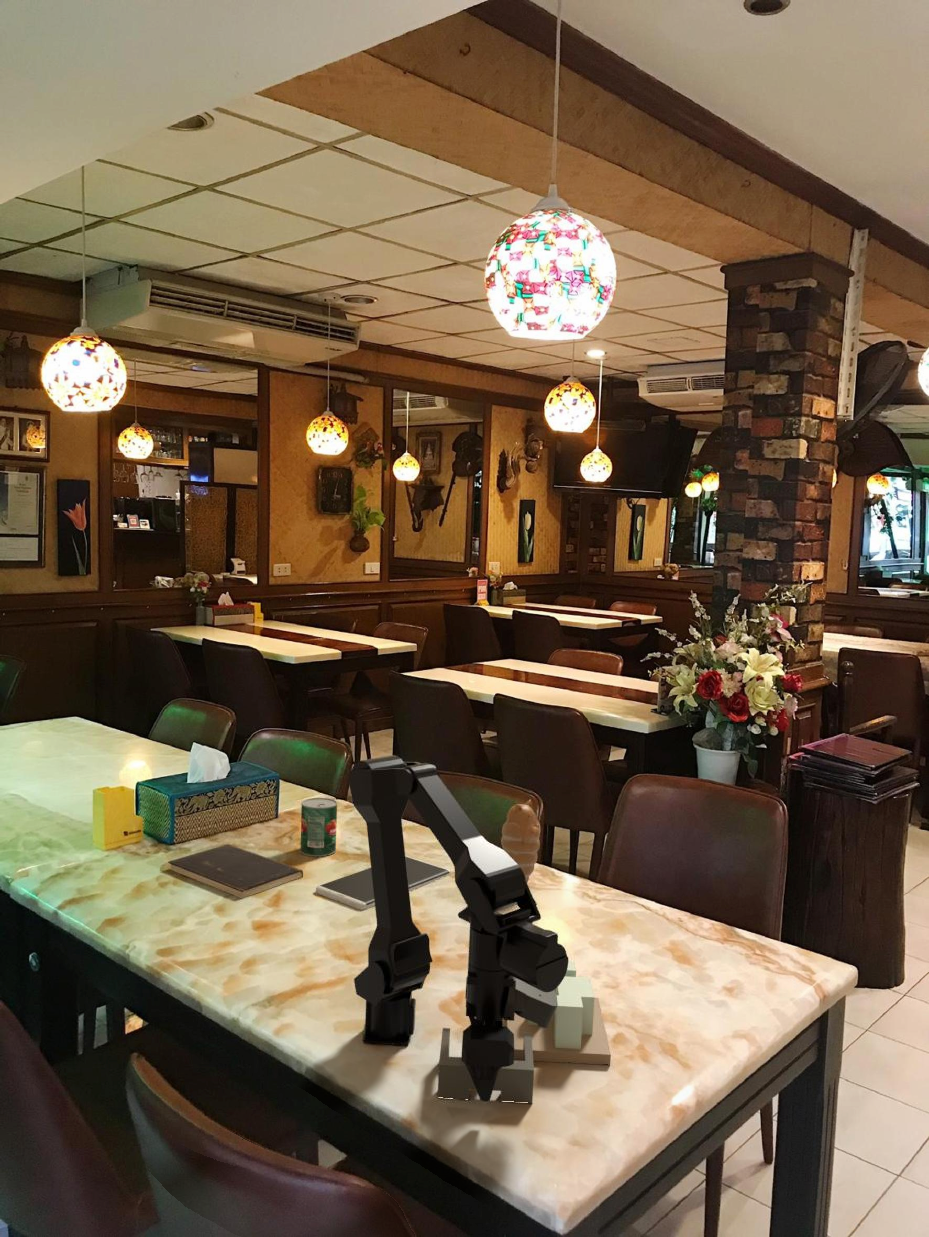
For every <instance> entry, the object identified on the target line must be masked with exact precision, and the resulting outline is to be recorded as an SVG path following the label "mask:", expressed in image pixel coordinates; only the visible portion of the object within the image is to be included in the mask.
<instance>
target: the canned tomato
mask: <svg viewBox="0 0 929 1237" xmlns="http://www.w3.org/2000/svg"><path fill="white" fill-rule="evenodd" d="M300 805H301V810H300V811H301V812H300V813H301V814H300V815H301V816H300V819H301V820H300V849H299V851H300V852H299V853H301V855H304V856H307V857H312V856H313V858H316V857H317V856H319V857H317V858H320V857H321V856H323V857H328V856H327V855H329V856H332V855H333V853H334V854H335V853H336V852H337V848H336V847H337V830H338V828H337V823H338V822H337V819H338V801H337V800H335V799H332V798H327V797H311V798H307V799H304V800H302V801H301V804H300ZM331 854H332V855H331ZM314 856H315V857H314Z"/></svg>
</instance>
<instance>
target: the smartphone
mask: <svg viewBox="0 0 929 1237" xmlns="http://www.w3.org/2000/svg"><path fill="white" fill-rule="evenodd" d="M405 857H406V867H407V876H408V885H409V891H410V892H412V891H415V890H417V889H420V888H422V887H424V885H425V886H427V885H429V883H430V884H431V882H432V883H434V882H436V881H435V880H437V881H439V880H441V879H440V878H442V877H444V878H446V877H445V876H447V875H449V876H451V870H450V869H448V868H444V867H442V866H439V865H435V864H432V863H429V862H426V861H423V860H420V859H418V858H413V857H410V856H408V855H405ZM447 877H448V876H447ZM438 879H439V880H438ZM442 879H443V878H442ZM419 887H420V888H419ZM416 888H417V889H416ZM414 889H415V890H414ZM411 890H412V891H411ZM315 893H316V894H318V895H320V896H323V897H325V898H329V899H331V900H333V901H336V902H338V901H339V903H342V904H344V905H347V906H349V907H352V908H354V909H358V910H360V911H365V910H367V909H371V908H373V907H375V900H374V890H373V881H372V871H371V867H368V868H366V869H363V870H360V871H357V872H355V873H352V874H349V875H345V876H344V877H340V878H337V879H334V880H331V881H328V882H326V883H323V884H320V885H317V886H316V887H315Z"/></svg>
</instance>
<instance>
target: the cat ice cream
mask: <svg viewBox="0 0 929 1237" xmlns="http://www.w3.org/2000/svg"><path fill="white" fill-rule="evenodd" d="M501 834H502V836H501V838H500V843H501V847H502V849H503V850H504V851H505V852H506V853H507V854H508V855H509V856H510V857H511V858H512V859H513V860H514V861H515V862H516V863H517V864H518V865H519V866H520V867H521V869H522V871H523V873H524V875H525V878H526V882H527V884H528V882H529V880H530V876H531V875H532V873H533V872H534V870H535V865H536V863H537V861H538V851H539V850H540V845H541V844H540V843H541V841H540V839H539V838H540V835H541V824H540V822H539V821H538V816H537V814H536V813H535V812H534V810H533V808H532V800H531V799H529V800H527V801H526V803H524V804H523V803H518V804H517V803H516V804H514V805H513V806H512V807H510V809H509V810H508V812H507V815H506V821H505V822H504V823H503V824H502V830H501Z"/></svg>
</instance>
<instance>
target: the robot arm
mask: <svg viewBox="0 0 929 1237" xmlns="http://www.w3.org/2000/svg"><path fill="white" fill-rule="evenodd" d="M348 786H349V789H350V794H351V799H352V803H353V804H352V805H353V807H354V808H355V809H356V810H357V812H358V813H359V815H360V816H361V817H362V819H363V820H364V822H365V825H366V831H367V840H368V850H369V860H370V868H371V871H372V881H373V890H374V900H375V906H374V909H375V917H376V918H375V919H376V928H375V930H374V932H373V935H372V937H371V940H370V942H369V945H368V947H367V949H368V951H367V952H368V953H367V955H368V956H367V958H368V959H367V962H368V964H367V967H365V968H364V969H363V970H362V971H361V972H360V973H359V974H358V975H356V976H355V977H354V978H353V983H354V988H355V994H356V995H357V996H358V997H360V998H362V999H363V1000H364V1001H365V1020H364V1021H365V1022H364V1023H365V1024H364V1031H363V1032H364V1033H363V1036H362V1043H365V1044H375V1045H377V1044H378V1045H393V1046H395V1045H396V1046H408V1045H409V1044H410V1039H411V1036H413V1034H414V1032H415V1026H416V1006H417V1004H416V1001H417V1000H416V999H415V997H413V992H414V991H417V990H420V989H423V987H424V984H425V982H426V981H425V980H426V978H427V977H428V975H429V974H430V971H431V963H433V958H432V955H431V950H430V948H431V946H430V937H429V935H428V934H427V932H426V933H422V932H421V931H420V930H419V928H418V926H416V924H415V923H414V921H413V915H412V906H411V897H410V892H409V885H408V876H407V867H406V857H405V856H406V849H405V840H404V839H405V838H404V829H403V816H404V813H405V810H406V809H407V805H408V804H409V802H410V803H411V804H412V805H413V807H414V808H415V810H416V811H417V814H419V816H421V818H422V820H423V821H424V823H425V825H426V826H427V827H428V828H429V830H430V831H431V832H432V834H433V835H434V837H435V839H436V841H437V842H438V843H439V844H440V846H441V847H442V848H443V850H444V851H445V853H446V854H447V856H448V857H449V859H450V860H451V863H452V864H453V866H454V883H455V885H456V887H457V888H458V891H459V892H460V895H461V896H462V898H463V900H464V902H465V904H466V907H464V908H463V909H462V910H461V911H459V912H458V913H457V918H459V919H460V920H463V921H465V922H467V923H469V937H468V941H469V942H468V959H467V960H468V961H467V962H468V963H467V975H466V980H465V981H466V982H465V1017H468V1019H469V1022H470V1023H469V1024H470V1025H469V1026H468V1027H466V1028H465V1029H464V1030H463V1031H462V1040H461V1056H460V1057H461V1061H462V1062H463V1063H464V1064H465V1065H466V1067H467V1069H468V1071H469V1073H470V1076H471V1078H472V1080H473V1083H474V1085H475V1088H476V1093H477V1095H478V1097H479V1099H480V1101H481V1102H490V1101H491V1097H492V1095H493V1088H494V1085H495V1081H496V1078H497V1075H498V1072H499V1069H500V1068H502V1067H507V1066H510V1065H512V1064H514V1034H513V1033H512V1032H511V1031H510V1030H509V1028H508V1027H507V1026H504V1024H503V1021H507V1020H510V1021H514V1015H515V1014H517V1015H518V1016H520V1017H522V1018H524V1019H527V1020H529V1021H532V1022H534V1023H537V1024H538V1026H540V1027H542V1028H548V1026H549V1024H550V1022H551V1019H552V1017H553V1015H554V1012H555V1010H556V1008H557V1006H558V1003H557V995H556V992H555V991H554V989H556V988H557V987H558V986H559V985H560V984H561V982H562V980H563V979H564V977H565V974H566V971H567V968H568V961H569V956H568V955H567V951H566V948H565V947H564V946H563V945H562V944H561V943H558V942H559V935H558V933H557V932H555V931H553V930H550V929H544V928H542V927H541V926H538V925H535V924H534V923H535V922H537V921H538V922H539V921H540V920H541V918H542V916H541V913H540V911H539V908H538V906H537V905H538V904H537V901H536V900H535V898H534V896H533V893H532V892H531V890H530V888H529V887H530V886H529V885H528V883H527V882H526V878H525V875H524V873H523V871H522V869H521V867H520V866H519V865H518V864H517V863H516V862H515V861H514V860H513V859H512V858H511V857H510V856H509V855H508V854H507V853H506V852H505V851H504V850H503V848H501V847H499V846H497V845H495V844H493V843H490V842H489V841H488V840H487V839H486V838H485V837H484V836H483V835H482V834H481V833H480V832H479V831H478V828H477V827H476V825H474V823H473V822H472V820H471V819H470V818H469V817H468V815H467V814H466V811H464V810H463V808H462V807H461V806H460V804H459V803H458V801H457V800H456V798H455V797H454V796H453V795H452V793H451V792H450V790H449V789H448V788H447V786H446V785H445V783H444V782H443V780H442V779H441V777H440V771H439V770H438V769H437V767H436V766H435V764H431V763H428V762H423V763H421V762H419V761H403V759H402V758H401V757H399V756H398V755H395V754H392V755H388V756H381V757H374V758H369V759H363V760H358V761H356V762H355V763H354V764H353V766H352V769H351V770H349V773H348ZM515 905H517V906H518V909H515V910H513V911H509V912H506V913H501V912H498V911H501V910H504V909H507V908H510V907H513V906H515Z"/></svg>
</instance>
